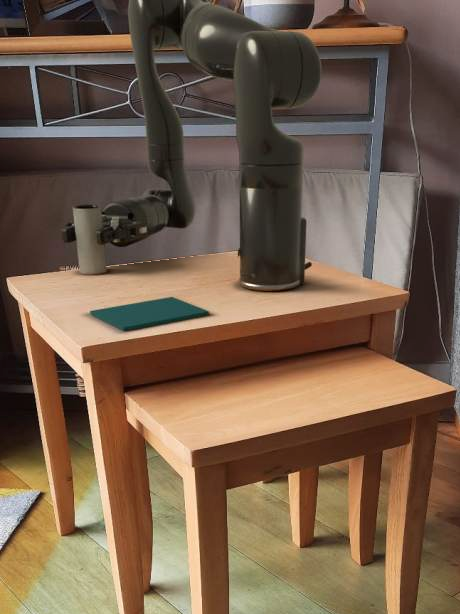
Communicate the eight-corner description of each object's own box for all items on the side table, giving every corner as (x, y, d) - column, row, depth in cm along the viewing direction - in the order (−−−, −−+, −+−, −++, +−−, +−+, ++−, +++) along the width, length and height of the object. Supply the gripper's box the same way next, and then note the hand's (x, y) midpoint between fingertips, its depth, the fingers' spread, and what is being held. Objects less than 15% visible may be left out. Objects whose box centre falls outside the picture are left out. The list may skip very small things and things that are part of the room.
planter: (109, 269, 127) (103, 204, 122) (103, 274, 123) (96, 208, 118) (83, 268, 128) (77, 204, 123) (76, 274, 124) (69, 208, 119)
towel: (172, 300, 108) (171, 296, 108) (209, 314, 101) (209, 311, 101) (90, 314, 102) (89, 310, 102) (123, 331, 95) (123, 327, 95)
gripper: (92, 197, 135) (40, 210, 121) (164, 200, 130) (119, 214, 116) (96, 240, 138) (46, 258, 125) (167, 245, 134) (123, 263, 120)
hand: (81, 237), depth 121 cm, fingers open, 5 cm apart
